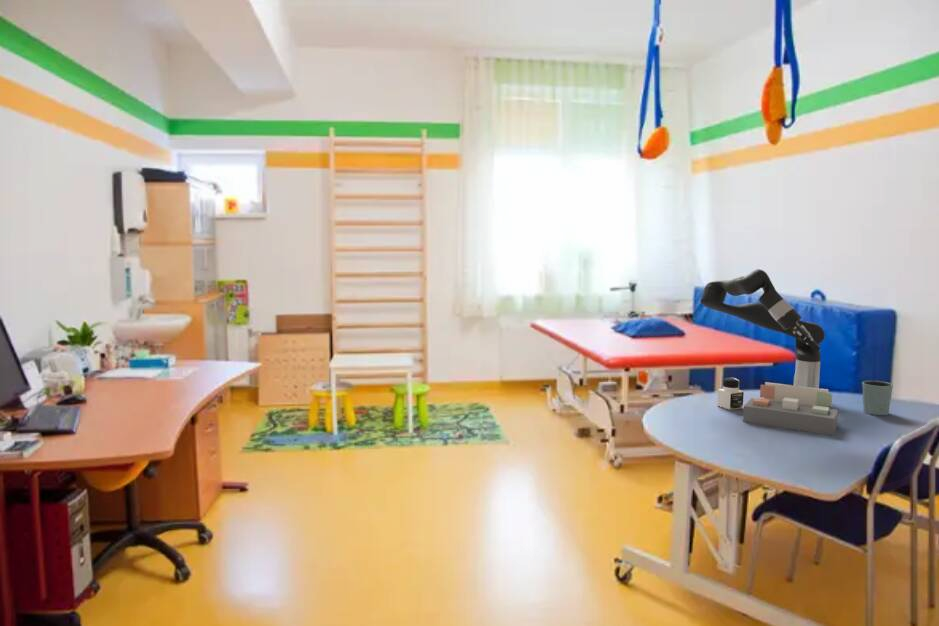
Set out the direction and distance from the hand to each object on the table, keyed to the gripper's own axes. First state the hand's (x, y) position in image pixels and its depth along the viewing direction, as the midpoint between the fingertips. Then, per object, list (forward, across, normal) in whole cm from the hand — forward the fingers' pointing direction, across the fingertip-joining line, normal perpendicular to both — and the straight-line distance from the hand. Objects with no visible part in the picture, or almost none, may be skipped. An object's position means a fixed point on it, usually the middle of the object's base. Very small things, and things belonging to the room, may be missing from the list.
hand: (818, 350), depth 236 cm
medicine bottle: (-2, -12, -42) cm, 44 cm away
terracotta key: (+6, -1, -30) cm, 31 cm away
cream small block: (+12, -1, -22) cm, 25 cm away
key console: (+15, -4, -25) cm, 29 cm away
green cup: (+30, -36, -5) cm, 48 cm away
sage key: (+20, -1, -16) cm, 26 cm away
